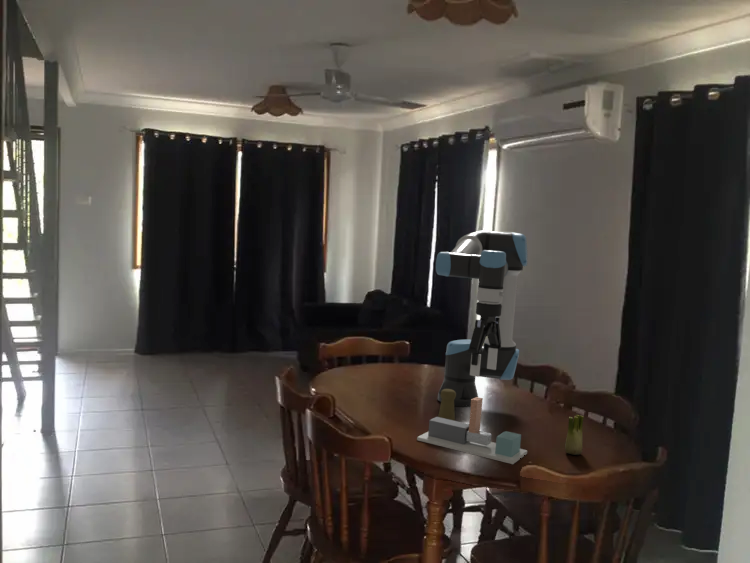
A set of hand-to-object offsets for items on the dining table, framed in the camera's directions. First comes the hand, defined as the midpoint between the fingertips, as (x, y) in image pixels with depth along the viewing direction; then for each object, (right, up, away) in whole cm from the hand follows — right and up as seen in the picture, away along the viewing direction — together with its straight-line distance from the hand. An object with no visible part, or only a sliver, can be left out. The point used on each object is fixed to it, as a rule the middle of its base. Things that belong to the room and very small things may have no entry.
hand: (483, 372), depth 216 cm
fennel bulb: (+28, -25, +3) cm, 37 cm away
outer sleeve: (-10, -22, +6) cm, 25 cm away
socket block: (+7, -24, -4) cm, 25 cm away
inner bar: (-5, -21, +3) cm, 21 cm away
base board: (-3, -23, +2) cm, 23 cm away
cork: (-8, -20, +27) cm, 35 cm away
